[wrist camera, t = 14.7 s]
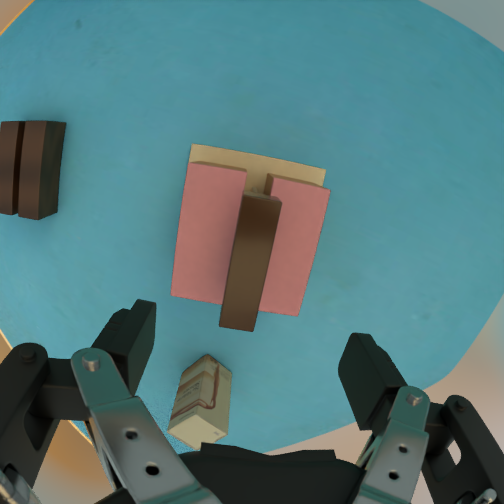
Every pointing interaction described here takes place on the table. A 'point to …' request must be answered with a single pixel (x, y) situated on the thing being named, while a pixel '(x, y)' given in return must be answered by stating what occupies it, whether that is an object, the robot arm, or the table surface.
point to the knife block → (30, 167)
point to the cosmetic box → (202, 404)
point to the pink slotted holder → (225, 218)
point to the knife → (249, 259)
